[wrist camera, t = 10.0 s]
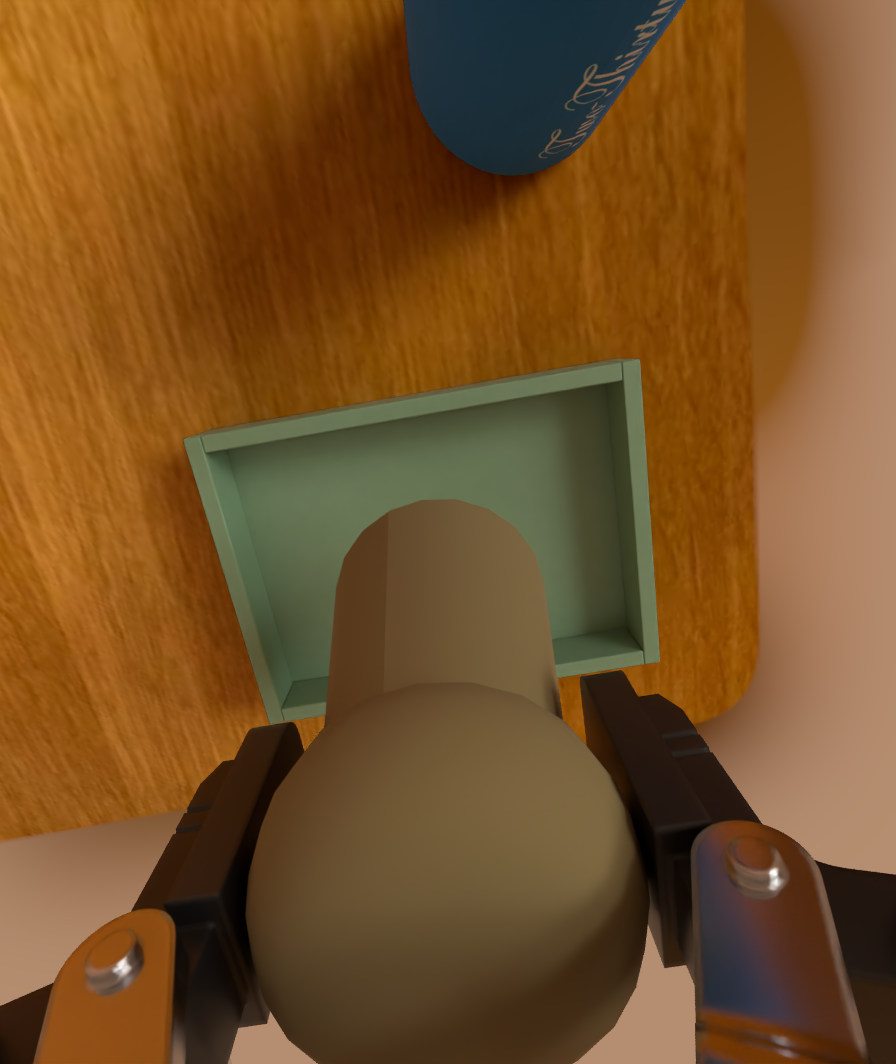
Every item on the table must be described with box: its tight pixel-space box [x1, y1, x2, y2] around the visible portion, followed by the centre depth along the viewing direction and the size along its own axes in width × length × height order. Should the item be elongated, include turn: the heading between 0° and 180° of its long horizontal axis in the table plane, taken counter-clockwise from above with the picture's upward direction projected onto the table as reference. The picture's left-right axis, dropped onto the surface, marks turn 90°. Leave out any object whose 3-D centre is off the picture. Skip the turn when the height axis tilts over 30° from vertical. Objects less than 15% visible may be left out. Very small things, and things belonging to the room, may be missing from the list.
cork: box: [245, 499, 650, 1064], centre depth 11 cm, size 6×6×11 cm
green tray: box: [183, 359, 660, 724], centre depth 22 cm, size 15×11×2 cm
